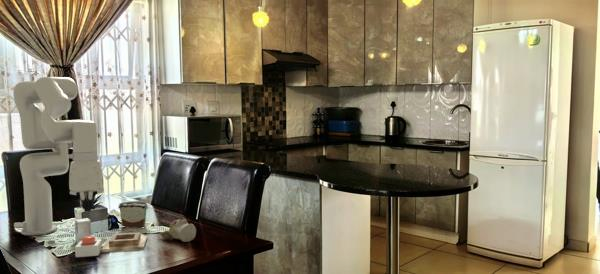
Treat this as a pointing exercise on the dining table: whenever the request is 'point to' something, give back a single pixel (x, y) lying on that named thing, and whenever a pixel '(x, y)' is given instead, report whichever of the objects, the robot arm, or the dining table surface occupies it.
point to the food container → (133, 213)
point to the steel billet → (82, 228)
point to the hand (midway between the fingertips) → (87, 210)
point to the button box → (88, 249)
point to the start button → (88, 240)
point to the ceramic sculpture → (180, 230)
